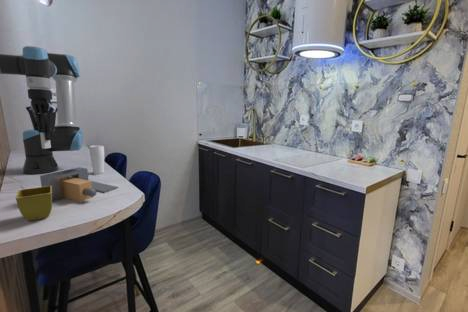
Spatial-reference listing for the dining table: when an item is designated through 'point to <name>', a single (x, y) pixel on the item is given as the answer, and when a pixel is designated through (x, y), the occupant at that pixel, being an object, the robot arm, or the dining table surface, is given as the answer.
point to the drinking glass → (97, 158)
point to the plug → (76, 188)
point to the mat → (102, 187)
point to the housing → (54, 180)
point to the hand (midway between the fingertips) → (46, 148)
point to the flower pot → (35, 202)
